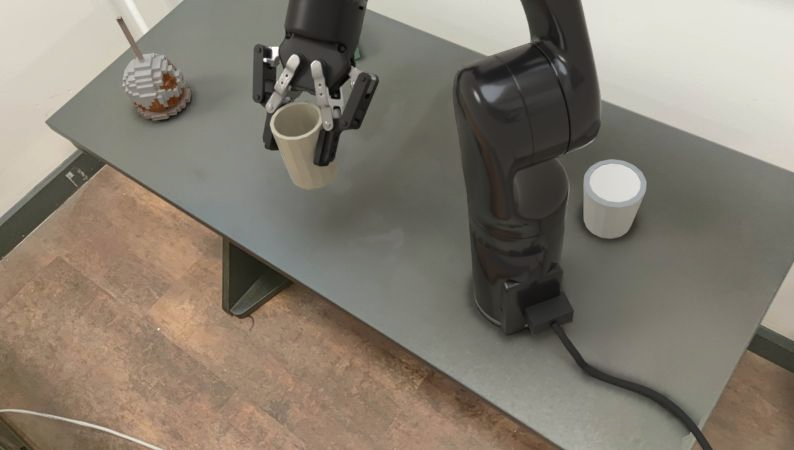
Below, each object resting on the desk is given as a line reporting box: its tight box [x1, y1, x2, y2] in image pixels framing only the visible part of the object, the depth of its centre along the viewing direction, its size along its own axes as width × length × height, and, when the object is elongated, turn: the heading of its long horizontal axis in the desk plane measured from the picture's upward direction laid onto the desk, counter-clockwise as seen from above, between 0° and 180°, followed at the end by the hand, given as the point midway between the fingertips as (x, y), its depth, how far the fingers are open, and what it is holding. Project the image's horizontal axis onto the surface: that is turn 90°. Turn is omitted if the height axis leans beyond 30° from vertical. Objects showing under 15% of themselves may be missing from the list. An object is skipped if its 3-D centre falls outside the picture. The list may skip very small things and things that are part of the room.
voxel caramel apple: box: [115, 15, 192, 122], centre depth 95 cm, size 8×8×15 cm
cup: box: [270, 100, 340, 191], centre depth 74 cm, size 5×5×8 cm
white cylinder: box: [582, 158, 647, 240], centre depth 80 cm, size 7×7×7 cm
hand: (296, 156), depth 73 cm, fingers closed on cup, 5 cm apart
